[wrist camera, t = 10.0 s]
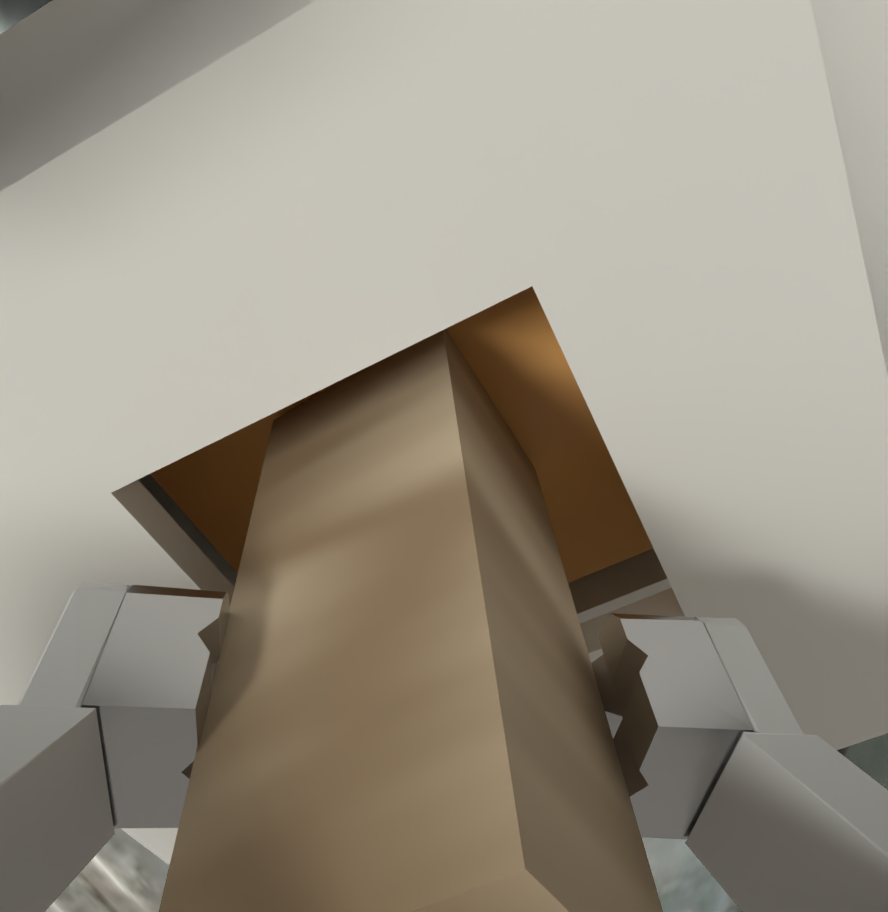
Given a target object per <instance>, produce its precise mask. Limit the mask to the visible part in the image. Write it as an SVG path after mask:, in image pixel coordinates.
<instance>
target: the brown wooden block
mask: <svg viewBox="0 0 888 912" xmlns="http://www.w3.org/2000/svg"><path fill="white" fill-rule="evenodd" d="M211 687H212V695H211V699H210V703H209V707H208V712H207V716H206V720H205V724H204V729H203V733H202V737H201V741H200V745H199V750H198V752H196V754H195V759H194V763H193V767H192V771H191V776H190V780H189V784H188V789H187V793H186V797H185V801H184V806H183V810H182V814H181V819H180V823H179V827H178V831H177V836H176V840H175V844H174V849H173V853H172V857H171V861H170V866H169V870H168V874H167V879H166V883H165V887H164V891H163V896H162V900H161V904H160V909H159V912H663V911H662V907H661V904H660V900H659V897H658V893H657V890H656V886H655V883H654V879H653V876H652V873H651V869H650V866H649V862H648V859H647V855H646V852H645V848H644V845H643V841H642V838H641V834H640V831H639V827H638V824H637V820H636V817H635V813H634V810H633V807H632V803H631V800H630V797H629V794H628V790H627V787H626V783H625V780H624V776H623V773H622V770H621V766H620V763H619V759H618V756H617V752H616V749H615V745H614V742H613V737H612V734H611V730H610V727H609V723H608V720H607V716H606V713H605V710H604V707H603V704H602V700H601V697H600V693H599V690H598V686H597V683H596V679H595V676H594V672H593V669H592V665H591V661H590V657H589V654H588V650H587V647H586V643H585V640H584V636H583V633H582V629H581V626H580V623H579V619H578V616H577V612H576V609H575V605H574V602H573V598H572V595H571V591H570V588H569V584H568V581H567V577H566V574H565V570H564V567H563V564H562V560H561V557H560V553H559V550H558V546H557V543H556V539H555V536H554V532H553V529H552V525H551V522H550V518H549V515H548V511H547V508H546V504H545V501H544V498H543V494H542V491H541V487H540V484H539V480H538V477H537V473H536V470H535V467H534V466H533V464H532V463H531V461H530V460H529V458H528V457H527V455H526V453H525V452H524V450H523V449H522V447H521V446H520V444H519V443H518V441H517V439H516V438H515V436H514V435H513V433H512V432H511V430H510V429H509V427H508V425H507V424H506V422H505V421H504V419H503V418H502V416H501V415H500V413H499V411H498V410H497V408H496V407H495V405H494V404H493V402H492V401H491V399H490V397H489V396H488V394H487V393H486V391H485V390H484V388H483V387H482V385H481V383H480V382H479V380H478V379H477V377H476V376H475V374H474V372H473V371H472V369H471V368H470V366H469V365H468V363H467V362H466V360H465V358H464V357H463V355H462V354H461V352H460V351H459V349H458V348H457V346H456V344H455V343H454V341H453V340H452V338H451V337H450V335H449V334H448V332H447V330H446V329H444V330H442V331H440V332H438V333H436V334H434V335H432V336H430V337H428V338H426V339H423V340H421V341H419V342H417V343H415V344H413V345H411V346H409V347H407V348H405V349H403V350H401V351H399V352H397V353H395V354H393V355H391V356H389V357H387V358H385V359H383V360H381V361H379V362H377V363H375V364H373V365H370V366H368V367H366V368H364V369H362V370H360V371H358V372H357V373H355V374H353V375H351V376H350V377H348V378H346V379H344V380H343V381H341V382H339V383H337V384H336V385H334V386H332V387H330V388H329V389H327V390H325V391H323V392H322V393H320V394H318V395H316V396H315V397H313V398H311V399H309V400H308V401H306V402H304V403H302V404H301V405H299V406H297V407H296V408H294V409H292V410H290V411H289V412H287V413H285V414H283V415H282V416H280V417H278V418H276V419H275V420H273V425H272V429H271V433H270V437H269V442H268V446H267V450H266V455H265V459H264V463H263V467H262V472H261V476H260V480H259V484H258V489H257V493H256V497H255V502H254V506H253V510H252V514H251V519H250V523H249V527H248V532H247V536H246V540H245V544H244V549H243V553H242V557H241V562H240V566H239V570H238V574H237V579H236V583H235V587H234V592H233V596H232V600H231V604H230V616H229V620H228V625H227V629H226V634H225V638H224V643H223V647H222V652H221V656H220V659H219V660H218V661H217V664H216V669H215V673H214V677H213V682H212V686H211Z"/></svg>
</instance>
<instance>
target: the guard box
mask: <svg viewBox="0 0 888 912" xmlns="http://www.w3.org/2000/svg"><path fill="white" fill-rule="evenodd" d="M529 287H533V289H534V291H535V293H536V295H537V297H538V300H539V302H540V304H541V306H542V308H543V310H544V313H545V315H546V317H547V319H548V321H549V323H550V326H551V328H552V330H553V332H554V334H555V336H556V339H557V341H558V343H559V345H560V347H561V349H562V352H563V354H564V356H565V358H566V360H567V362H568V365H569V367H570V369H571V371H572V373H573V375H574V377H575V380H576V382H577V384H578V386H579V388H580V390H581V393H582V395H583V397H584V399H585V401H586V403H587V406H588V408H589V410H590V412H591V414H592V416H593V419H594V421H595V423H596V425H597V427H598V429H599V432H600V434H601V436H602V438H603V440H604V442H605V444H606V447H607V449H608V451H609V453H610V455H611V457H612V460H613V462H614V464H615V466H616V468H617V470H618V473H619V475H620V477H621V479H622V481H623V483H624V486H625V488H626V490H627V492H628V494H629V496H630V499H631V501H632V503H633V505H634V507H635V509H636V511H637V514H638V516H639V518H640V520H641V522H642V524H643V527H644V529H645V531H646V533H647V535H648V537H649V540H650V542H651V544H652V546H653V549H651V550H648V551H646V552H643V553H641V554H638V555H636V556H633V557H631V558H628V559H626V560H624V561H621V562H619V563H616V564H614V565H611V566H609V567H606V568H604V569H601V570H599V571H596V572H594V573H591V574H589V575H586V576H584V577H581V578H579V579H577V580H574V581H572V582H569V583H568V584H569V588H570V591H571V595H572V598H573V602H574V605H575V609H576V612H577V616H578V619H579V623H580V626H581V629H582V633H583V636H584V640H585V643H586V647H587V650H588V654H589V657H590V661H591V663H592V662H593V661H595V660H596V659H597V658H599V657H600V656H601V655H603V651H602V648H601V644H600V641H599V638H598V637H599V634H600V632H601V629H602V626H603V623H604V621H605V620H606V619H607V617H608V616H609V615H610V614H611V613H616V614H638V615H659V616H680V617H691V618H694V617H711V618H735V619H738V620H739V621H740V622H742V623H743V624H744V625H745V626H746V628H747V630H748V632H749V633H750V635H751V637H752V639H753V641H754V643H755V644H756V646H757V648H758V650H759V652H760V654H761V656H762V657H763V659H764V661H765V663H766V665H767V667H768V668H769V670H770V672H771V674H772V676H773V678H774V680H775V681H776V683H777V685H778V687H779V689H780V691H781V692H782V694H783V696H784V698H785V700H786V702H787V704H788V705H789V707H790V709H791V711H792V713H793V715H794V717H795V718H796V720H797V722H798V724H799V726H800V728H801V729H802V731H803V733H804V734H808V735H818V736H819V737H820V738H821V739H823V740H824V741H825V742H827V743H828V744H829V745H830V746H832V747H833V748H834V749H836V750H839V749H842V748H845V747H848V746H851V745H854V744H857V743H860V742H863V741H866V740H869V739H872V738H875V737H878V736H881V735H884V734H887V733H888V0H52V1H50V2H49V3H47V4H46V5H44V6H43V7H41V8H40V9H38V10H37V11H35V12H34V13H32V14H31V15H29V16H28V17H26V18H25V19H23V20H22V21H20V22H19V23H17V24H15V25H14V26H12V27H11V28H9V29H8V30H6V31H5V32H3V33H2V34H0V705H18V703H19V701H20V699H21V697H22V695H23V693H24V691H25V689H26V687H27V685H28V683H29V680H30V678H31V676H32V674H33V672H34V670H35V668H36V666H37V664H38V662H39V660H40V658H41V656H42V654H43V652H44V650H45V648H46V646H47V644H48V642H49V639H50V637H51V635H52V633H53V631H54V629H55V627H56V625H57V623H58V621H59V619H60V617H61V615H62V613H63V611H64V609H65V607H66V605H67V603H68V600H69V598H70V596H71V594H72V592H73V591H74V590H75V589H76V588H77V587H78V586H79V585H80V584H81V583H83V582H94V583H106V584H117V585H129V586H132V585H144V586H157V587H170V588H182V589H195V590H207V591H220V592H227V593H228V595H229V602H230V604H231V600H232V596H233V592H234V587H235V583H236V579H237V574H238V573H237V572H236V571H235V570H234V569H233V568H232V567H231V566H230V564H229V563H228V562H227V561H226V560H225V559H224V558H223V556H222V555H221V554H220V553H219V552H218V551H217V550H216V548H215V547H214V546H213V545H212V544H211V543H210V542H209V541H208V539H207V538H206V537H205V536H204V535H203V534H202V533H201V531H200V530H199V529H198V528H197V527H196V526H195V525H194V523H193V522H192V521H191V520H190V519H189V518H188V517H187V516H186V514H185V513H184V512H183V511H182V510H181V509H180V508H179V506H178V505H177V504H176V503H175V502H174V501H173V500H172V499H171V497H170V496H169V495H168V494H167V493H166V492H165V491H164V489H163V488H162V487H161V486H160V485H159V484H158V483H157V481H156V480H155V479H154V478H153V477H152V476H151V475H150V473H152V472H154V471H156V470H159V469H161V468H163V467H165V466H167V465H169V464H171V463H173V462H175V461H177V460H179V459H181V458H183V457H185V456H187V455H189V454H191V453H193V452H195V451H197V450H199V449H201V448H203V447H205V446H207V445H209V444H212V443H214V442H216V441H218V440H220V439H222V438H224V437H226V436H228V435H230V434H232V433H234V432H236V431H238V430H240V429H242V428H244V427H246V426H248V425H250V424H252V423H254V422H256V421H258V420H260V419H262V418H265V417H267V416H269V415H271V414H273V413H275V412H277V411H279V410H281V409H283V408H285V407H287V406H289V405H291V404H293V403H295V402H297V401H299V400H301V399H303V398H305V397H307V396H309V395H311V394H313V393H315V392H318V391H320V390H322V389H324V388H326V387H328V386H330V385H332V384H334V383H336V382H338V381H340V380H342V379H344V378H346V377H348V376H350V375H352V374H354V373H356V372H358V371H360V370H362V369H364V368H366V367H368V366H370V365H373V364H375V363H377V362H379V361H381V360H383V359H385V358H387V357H389V356H391V355H393V354H395V353H397V352H399V351H401V350H403V349H405V348H407V347H409V346H411V345H413V344H415V343H417V342H419V341H421V340H423V339H426V338H428V337H430V336H432V335H434V334H436V333H438V332H440V331H442V330H444V329H446V328H448V327H450V326H452V325H454V324H456V323H458V322H460V321H462V320H464V319H466V318H468V317H470V316H472V315H474V314H476V313H479V312H481V311H483V310H485V309H487V308H489V307H491V306H493V305H495V304H497V303H499V302H501V301H503V300H505V299H507V298H509V297H511V296H513V295H515V294H517V293H519V292H521V291H523V290H525V289H527V288H529ZM121 829H122V830H123V831H124V832H126V833H127V834H128V835H130V836H131V837H132V838H134V839H135V840H136V841H138V842H139V843H140V844H142V845H143V846H144V847H146V848H147V849H148V850H150V851H151V852H152V853H154V854H155V855H156V856H158V857H159V858H160V859H162V860H163V861H164V862H166V863H167V864H168V865H170V861H171V857H172V853H173V849H174V844H175V840H176V836H177V831H178V828H121Z"/></svg>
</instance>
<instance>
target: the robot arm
mask: <svg viewBox="0 0 888 912" xmlns="http://www.w3.org/2000/svg"><path fill="white" fill-rule="evenodd" d="M229 616H230V602H229V595H228V593H227V592H220V591H207V590H195V589H182V588H170V587H157V586H144V585H132V586H129V585H117V584H106V583H94V582H83V583H81V584H80V585H79V586H78V587H77V588H76V589H75V590H74V591H73V592H72V594H71V596H70V598H69V600H68V603H67V605H66V607H65V609H64V611H63V613H62V615H61V617H60V619H59V621H58V623H57V625H56V627H55V629H54V631H53V633H52V635H51V637H50V639H49V642H48V644H47V646H46V648H45V650H44V652H43V654H42V656H41V658H40V660H39V662H38V664H37V666H36V668H35V670H34V672H33V674H32V676H31V678H30V680H29V683H28V685H27V687H26V689H25V691H24V693H23V695H22V697H21V699H20V701H19V703H18V705H0V912H45V911H46V910H47V909H48V907H49V906H50V905H51V904H52V903H53V902H54V901H55V900H56V899H57V897H58V896H59V895H60V894H61V893H62V892H63V891H64V890H65V889H66V887H67V886H68V885H69V884H70V883H71V882H72V881H73V880H74V879H75V877H76V876H77V875H78V874H79V873H80V872H81V871H82V870H83V869H84V867H85V866H86V865H87V864H88V863H89V862H90V861H91V860H92V858H93V857H94V856H95V855H96V854H97V853H98V852H99V851H100V850H101V848H102V847H103V846H104V845H105V844H106V843H107V842H108V841H109V840H110V838H111V837H112V836H113V835H114V828H178V827H179V823H180V819H181V814H182V810H183V806H184V801H185V797H186V793H187V789H188V784H189V780H190V776H191V771H192V767H193V763H194V759H195V754H196V752H198V750H199V745H200V741H201V737H202V733H203V729H204V724H205V720H206V716H207V712H208V707H209V703H210V699H211V695H212V687H211V686H212V682H213V677H214V673H215V669H216V664H217V661H218V660H219V659H220V656H221V652H222V647H223V643H224V638H225V634H226V629H227V625H228V620H229ZM598 638H599V641H600V644H601V648H602V651H603V655H601V656H600V657H599V658H597V659H596V660H595V661H593V662H592V663H591V665H592V669H593V672H594V676H595V679H596V683H597V686H598V690H599V693H600V697H601V700H602V704H603V707H604V710H605V713H606V716H607V720H608V723H609V727H610V730H611V734H612V737H613V742H614V745H615V749H616V752H617V756H618V759H619V763H620V766H621V770H622V773H623V776H624V780H625V783H626V787H627V790H628V794H629V797H630V800H631V803H632V807H633V810H634V813H635V817H636V820H637V824H638V827H639V831H640V834H641V837H651V838H672V839H687V841H686V844H687V846H688V847H689V848H690V849H691V850H692V852H693V853H694V854H695V855H696V856H697V858H698V859H699V860H700V861H701V862H702V864H703V865H704V866H705V867H706V868H707V870H708V871H709V872H710V873H711V874H712V876H713V877H714V878H715V879H716V880H717V882H718V883H719V884H720V885H721V886H722V888H723V889H724V890H725V891H726V892H727V894H728V895H729V896H730V897H731V898H732V900H733V901H734V902H735V903H736V904H737V906H738V907H739V908H740V909H741V910H742V912H888V790H887V789H886V788H884V787H883V786H882V785H880V784H879V783H878V782H877V781H875V780H874V779H873V778H871V777H870V776H869V775H868V774H866V773H865V772H864V771H862V770H861V769H860V768H859V767H857V766H856V765H855V764H853V763H852V762H851V761H850V760H848V759H847V758H846V757H845V756H843V755H842V754H841V753H839V752H838V751H837V750H836V749H834V748H833V747H832V746H830V745H829V744H828V743H827V742H825V741H824V740H823V739H821V738H820V737H819V736H818V735H808V734H804V733H803V731H802V729H801V728H800V726H799V724H798V722H797V720H796V718H795V717H794V715H793V713H792V711H791V709H790V707H789V705H788V704H787V702H786V700H785V698H784V696H783V694H782V692H781V691H780V689H779V687H778V685H777V683H776V681H775V680H774V678H773V676H772V674H771V672H770V670H769V668H768V667H767V665H766V663H765V661H764V659H763V657H762V656H761V654H760V652H759V650H758V648H757V646H756V644H755V643H754V641H753V639H752V637H751V635H750V633H749V632H748V630H747V628H746V626H745V625H744V624H743V623H742V622H740V621H739V620H738V619H735V618H711V617H694V618H691V617H680V616H659V615H638V614H616V613H611V614H610V615H609V616H608V617H607V619H606V620H605V621H604V623H603V626H602V629H601V632H600V634H599V637H598Z"/></svg>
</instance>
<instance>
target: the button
mask: <svg viewBox="0 0 888 912" xmlns="http://www.w3.org/2000/svg"><path fill="white" fill-rule="evenodd" d="M446 330H447V332H448V334H449V335H450V337H451V338H452V340H453V341H454V343H455V344H456V346H457V348H458V349H459V351H460V352H461V354H462V355H463V357H464V358H465V360H466V362H467V363H468V365H469V366H470V368H471V369H472V371H473V372H474V374H475V376H476V377H477V379H478V380H479V382H480V383H481V385H482V387H483V388H484V390H485V391H486V393H487V394H488V396H489V397H490V399H491V401H492V402H493V404H494V405H495V407H496V408H497V410H498V411H499V413H500V415H501V416H502V418H503V419H504V421H505V422H506V424H507V425H508V427H509V429H510V430H511V432H512V433H513V435H514V436H515V438H516V439H517V441H518V443H519V444H520V446H521V447H522V449H523V450H524V452H525V453H526V455H527V457H528V458H529V460H530V461H531V463H532V464H533V466H534V467H535V470H536V473H537V477H538V480H539V484H540V487H541V491H542V494H543V498H544V501H545V504H546V508H547V511H548V515H549V518H550V522H551V525H552V529H553V532H554V536H555V539H556V543H557V546H558V550H559V553H560V557H561V560H562V564H563V567H564V570H565V574H566V577H567V581H568V583H569V582H572V581H574V580H577V579H579V578H581V577H584V576H586V575H589V574H591V573H594V572H596V571H599V570H601V569H604V568H606V567H609V566H611V565H614V564H616V563H619V562H621V561H624V560H626V559H628V558H631V557H633V556H636V555H638V554H641V553H643V552H646V551H648V550H651V549H653V546H652V544H651V542H650V540H649V537H648V535H647V533H646V531H645V529H644V527H643V524H642V522H641V520H640V518H639V516H638V514H637V511H636V509H635V507H634V505H633V503H632V501H631V499H630V496H629V494H628V492H627V490H626V488H625V486H624V483H623V481H622V479H621V477H620V475H619V473H618V470H617V468H616V466H615V464H614V462H613V460H612V457H611V455H610V453H609V451H608V449H607V447H606V444H605V442H604V440H603V438H602V436H601V434H600V432H599V429H598V427H597V425H596V423H595V421H594V419H593V416H592V414H591V412H590V410H589V408H588V406H587V403H586V401H585V399H584V397H583V395H582V393H581V390H580V388H579V386H578V384H577V382H576V380H575V377H574V375H573V373H572V371H571V369H570V367H569V365H568V362H567V360H566V358H565V356H564V354H563V352H562V349H561V347H560V345H559V343H558V341H557V339H556V336H555V334H554V332H553V330H552V328H551V326H550V323H549V321H548V319H547V317H546V315H545V313H544V310H543V308H542V306H541V304H540V302H539V300H538V297H537V295H536V293H535V291H534V289H533V287H529V288H527V289H525V290H523V291H521V292H519V293H517V294H515V295H513V296H511V297H509V298H507V299H505V300H503V301H501V302H499V303H497V304H495V305H493V306H491V307H489V308H487V309H485V310H483V311H481V312H479V313H476V314H474V315H472V316H470V317H468V318H466V319H464V320H462V321H460V322H458V323H456V324H454V325H452V326H450V327H448V328H446ZM356 373H357V372H356ZM354 374H355V373H354ZM352 375H353V374H352ZM350 376H351V375H350ZM350 376H348V377H350ZM348 377H346V378H348ZM346 378H344V379H346ZM344 379H342V380H340V381H338V382H336V383H334V384H332V385H330V386H328V387H326V388H324V389H322V390H320V391H318V392H315V393H313V394H311V395H309V396H307V397H305V398H303V399H301V400H299V401H297V402H295V403H293V404H291V405H289V406H287V407H285V408H283V409H281V410H279V411H277V412H275V413H273V414H271V415H269V416H267V417H265V418H262V419H260V420H258V421H256V422H254V423H252V424H250V425H248V426H246V427H244V428H242V429H240V430H238V431H236V432H234V433H232V434H230V435H228V436H226V437H224V438H222V439H220V440H218V441H216V442H214V443H212V444H209V445H207V446H205V447H203V448H201V449H199V450H197V451H195V452H193V453H191V454H189V455H187V456H185V457H183V458H181V459H179V460H177V461H175V462H173V463H171V464H169V465H167V466H165V467H163V468H161V469H159V470H156V471H154V472H152V473H150V475H151V476H152V477H153V478H154V479H155V480H156V481H157V483H158V484H159V485H160V486H161V487H162V488H163V489H164V491H165V492H166V493H167V494H168V495H169V496H170V497H171V499H172V500H173V501H174V502H175V503H176V504H177V505H178V506H179V508H180V509H181V510H182V511H183V512H184V513H185V514H186V516H187V517H188V518H189V519H190V520H191V521H192V522H193V523H194V525H195V526H196V527H197V528H198V529H199V530H200V531H201V533H202V534H203V535H204V536H205V537H206V538H207V539H208V541H209V542H210V543H211V544H212V545H213V546H214V547H215V548H216V550H217V551H218V552H219V553H220V554H221V555H222V556H223V558H224V559H225V560H226V561H227V562H228V563H229V564H230V566H231V567H232V568H233V569H234V570H235V571H236V572H237V573H238V570H239V566H240V562H241V557H242V553H243V549H244V544H245V540H246V536H247V532H248V527H249V523H250V519H251V514H252V510H253V506H254V502H255V497H256V493H257V489H258V484H259V480H260V476H261V472H262V467H263V463H264V459H265V455H266V450H267V446H268V442H269V437H270V433H271V429H272V425H273V420H275V419H276V418H278V417H280V416H282V415H283V414H285V413H287V412H289V411H290V410H292V409H294V408H296V407H297V406H299V405H301V404H302V403H304V402H306V401H308V400H309V399H311V398H313V397H315V396H316V395H318V394H320V393H322V392H323V391H325V390H327V389H329V388H330V387H332V386H334V385H336V384H337V383H339V382H341V381H343V380H344Z"/></svg>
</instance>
